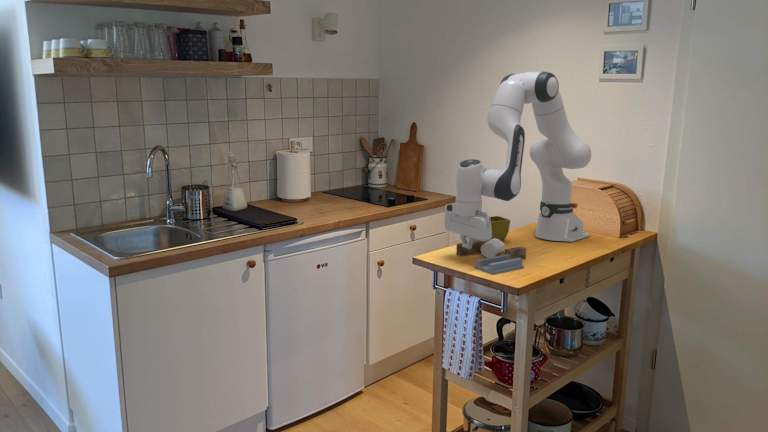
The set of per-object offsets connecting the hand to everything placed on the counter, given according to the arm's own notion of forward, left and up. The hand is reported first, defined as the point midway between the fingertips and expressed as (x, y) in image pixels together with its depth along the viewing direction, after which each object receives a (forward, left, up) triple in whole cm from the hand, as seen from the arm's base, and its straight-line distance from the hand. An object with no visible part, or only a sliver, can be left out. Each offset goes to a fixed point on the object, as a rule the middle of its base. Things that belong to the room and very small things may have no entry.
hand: (467, 248), depth 209 cm
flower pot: (-29, -16, -5) cm, 33 cm away
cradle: (-4, +12, -5) cm, 13 cm away
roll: (-15, -2, -5) cm, 16 cm away
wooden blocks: (-11, -7, -5) cm, 14 cm away
